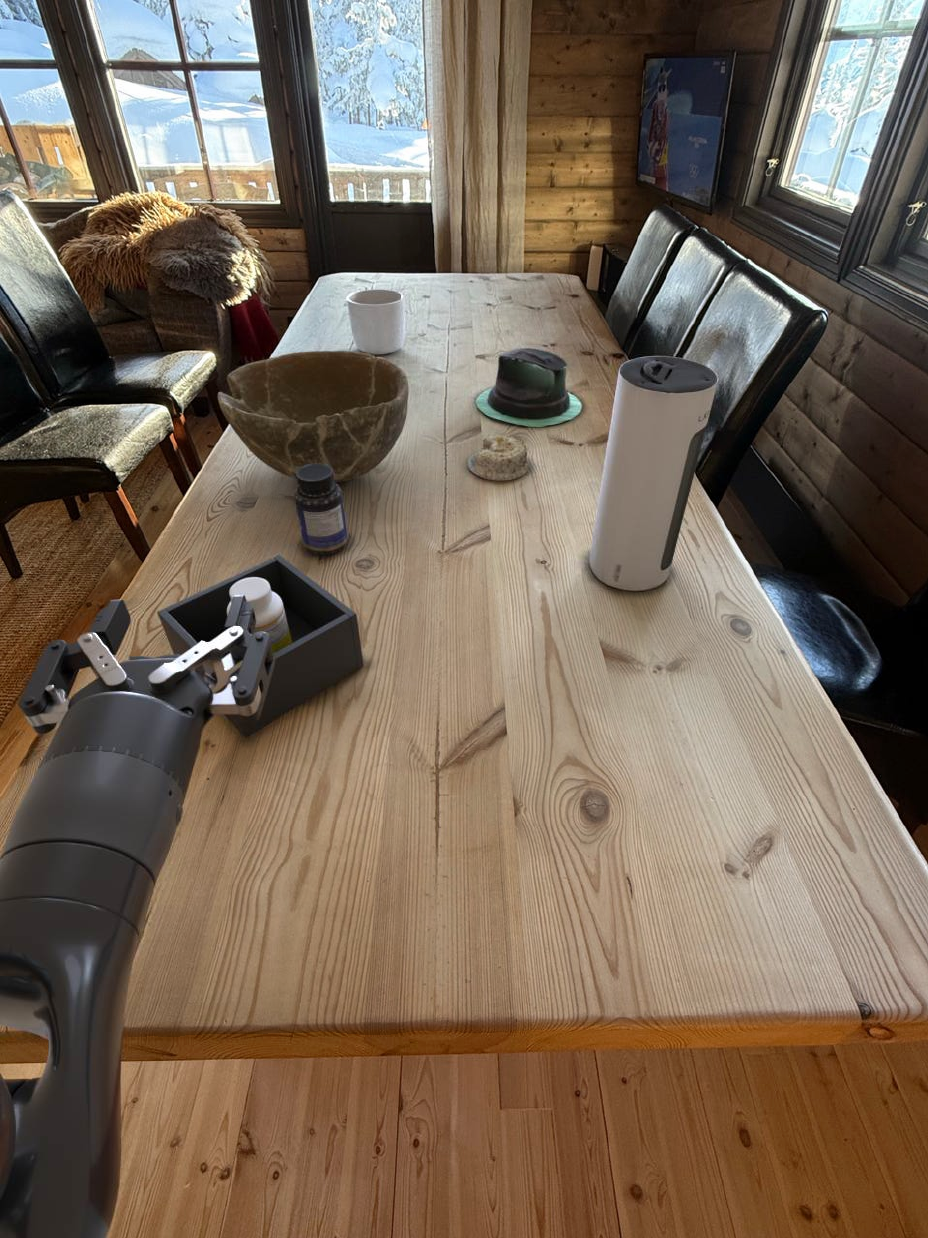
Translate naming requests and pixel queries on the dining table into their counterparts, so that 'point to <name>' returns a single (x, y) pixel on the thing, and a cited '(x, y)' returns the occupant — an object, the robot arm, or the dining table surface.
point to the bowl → (318, 410)
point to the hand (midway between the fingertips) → (182, 606)
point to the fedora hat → (530, 390)
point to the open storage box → (314, 625)
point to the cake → (500, 459)
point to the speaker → (649, 468)
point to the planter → (377, 320)
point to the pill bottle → (320, 510)
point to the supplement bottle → (264, 610)
